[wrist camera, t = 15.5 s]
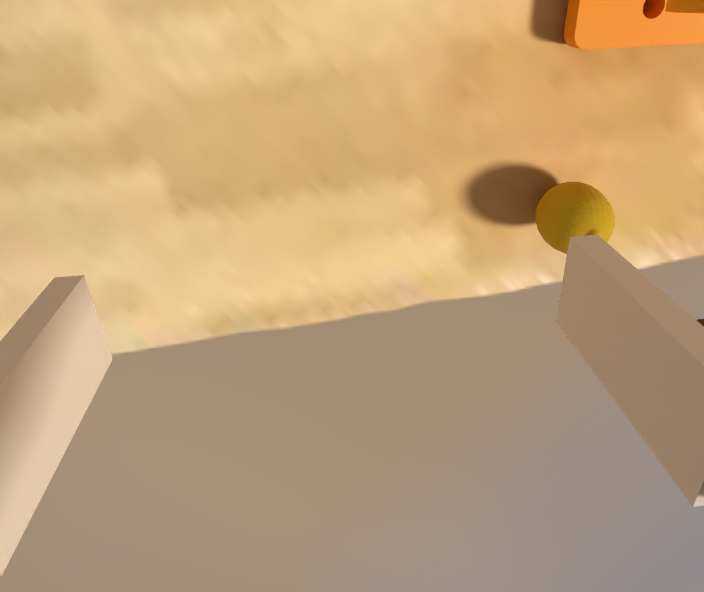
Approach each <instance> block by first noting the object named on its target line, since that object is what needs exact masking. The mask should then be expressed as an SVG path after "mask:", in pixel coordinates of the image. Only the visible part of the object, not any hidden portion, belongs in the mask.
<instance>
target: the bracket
mask: <svg viewBox="0 0 704 592" xmlns="http://www.w3.org/2000/svg"><path fill="white" fill-rule="evenodd" d="M644 3H645V4H644ZM643 5H644V7H643ZM564 39H565V41H566V43H567V44H568V45H569V46H572V47H576V48H580V49H584V50H589V49H606V48H623V47H640V46H657V45H674V44H691V43H704V0H568V8H567V15H566V22H565V29H564Z"/></svg>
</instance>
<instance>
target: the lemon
mask: <svg viewBox="0 0 704 592" xmlns="http://www.w3.org/2000/svg"><path fill="white" fill-rule="evenodd" d="M535 220H536V224H537V228H538V231H539V232H540V234H541V236H542V237H543V239H544V240H545V241H546V242H547V243H548V244H550V245H551V246H552V247H553V248H555V249H557V250H559V251H561V252H563V253H566V254H567V252H568V246H569V240H570V237H575V236H588V235H598V236H599V237H601V238H602V239H603V240H604V241H605V242H607V241H608V240H609V238H610V236H611V235H612V233H613V229H614V225H615V219H614V213H613V210H612V207H611V205H610V203H609V202H608V201H607V199H606V198H605V196H604V195H603V194H602V193H601V192H599V191H598V190H597V189H595V188H594V187H592V186H590V185H587V184H584V183H580V182H566V183H561V184H558V185H556V186H554V187H552V188H551V189H550V190H548V191H547V192H546V193H545V194H544V195H543V196H542V198H541V199H540V201H539V203H538V205H537V209H536V219H535Z"/></svg>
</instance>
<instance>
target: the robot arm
mask: <svg viewBox="0 0 704 592" xmlns="http://www.w3.org/2000/svg"><path fill="white" fill-rule="evenodd" d="M556 322H557V323H558V325H559V326H560V327H561V329H562V330H563V331H564V333H565V334H566V335H567V337H568V338H569V339H570V341H571V342H572V344H573V345H574V346H575V348H576V349H577V350H578V352H579V353H580V354H581V356H582V357H583V358H584V360H585V361H586V362H587V364H588V365H589V366H590V368H591V369H592V371H593V372H594V373H595V375H596V376H597V377H598V379H599V380H600V381H601V383H602V384H603V385H604V387H605V388H606V389H607V391H608V392H609V394H610V395H611V396H612V397H613V399H614V400H615V402H616V403H617V404H618V406H619V407H620V408H621V410H622V411H623V413H624V414H625V415H626V417H627V418H628V419H629V421H630V422H631V423H632V425H633V426H634V427H635V429H636V430H637V431H638V433H639V434H640V435H641V437H642V438H643V439H644V441H645V442H646V443H647V445H648V446H649V448H650V449H651V450H652V451H653V453H654V454H655V456H656V457H657V458H658V460H659V461H660V463H661V464H662V465H663V467H664V468H665V469H666V471H667V472H668V473H669V475H670V476H671V477H672V479H673V480H674V481H675V483H676V484H677V485H678V487H679V488H680V490H681V491H682V492H683V494H684V495H685V496H686V498H687V499H688V500H689V502H690V503H691V504H692V506H693V507H694V506H704V319H699V320H695V319H694V318H693V317H692V316H691V315H690V314H688V313H687V312H686V311H685V310H684V309H683V308H682V307H680V306H679V305H678V304H677V303H676V302H675V301H673V300H672V299H671V298H670V297H669V296H667V295H666V294H665V293H664V292H663V291H662V290H661V289H660V288H658V287H657V286H656V285H655V284H654V283H652V282H651V281H650V280H649V279H648V278H647V277H646V276H645V275H643V274H642V273H641V272H640V271H639V270H638V269H636V268H635V267H634V266H633V265H632V264H631V263H629V262H628V261H627V260H626V259H625V258H624V257H623V256H621V255H620V254H619V253H618V252H617V251H616V250H614V249H613V248H612V247H611V246H610V245H609V244H608V243H606V242H605V241H604V240H603V239H602V238H601V237H599V236H598V235H588V236H575V237H570V240H569V246H568V252H567V258H566V264H565V270H564V276H563V282H562V289H561V294H560V300H559V306H558V312H557V318H556ZM111 361H112V356H111V353H110V350H109V347H108V344H107V341H106V338H105V335H104V332H103V329H102V327H101V324H100V321H99V318H98V315H97V312H96V309H95V306H94V303H93V300H92V297H91V294H90V291H89V289H88V286H87V283H86V280H85V277H84V275H81V276H69V277H56V278H54V279H53V280H52V281H51V282H50V284H49V285H48V286H47V287H46V288H45V289H44V291H43V292H42V293H41V294H40V295H39V296H38V298H37V299H36V300H35V301H34V302H33V304H32V305H31V306H30V307H29V308H28V309H27V311H26V312H25V313H24V314H23V315H22V316H21V318H20V319H19V320H18V321H17V322H16V324H15V325H14V326H13V327H12V328H11V329H10V331H9V332H8V333H7V334H6V335H5V336H4V338H3V339H2V340H1V341H0V575H2V574H3V572H4V570H5V568H6V566H7V564H8V562H9V560H10V558H11V556H12V554H13V552H14V551H15V549H16V547H17V544H18V543H19V541H20V539H21V537H22V535H23V533H24V531H25V529H26V527H27V525H28V523H29V521H30V519H31V517H32V515H33V513H34V511H35V509H36V508H37V506H38V504H39V502H40V500H41V498H42V496H43V494H44V492H45V490H46V488H47V486H48V484H49V482H50V480H51V478H52V476H53V474H54V472H55V470H56V468H57V467H58V465H59V462H60V461H61V459H62V457H63V455H64V453H65V451H66V449H67V447H68V445H69V443H70V441H71V439H72V437H73V435H74V433H75V431H76V429H77V427H78V425H79V424H80V422H81V420H82V418H83V416H84V414H85V412H86V410H87V408H88V406H89V404H90V402H91V400H92V398H93V396H94V394H95V392H96V390H97V388H98V386H99V385H100V382H101V381H102V379H103V377H104V375H105V373H106V371H107V369H108V367H109V365H110V363H111Z"/></svg>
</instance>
